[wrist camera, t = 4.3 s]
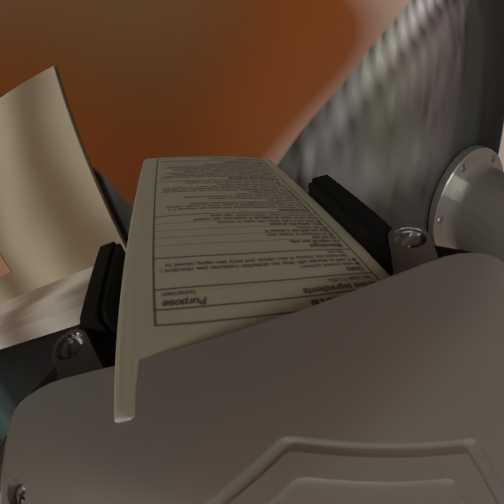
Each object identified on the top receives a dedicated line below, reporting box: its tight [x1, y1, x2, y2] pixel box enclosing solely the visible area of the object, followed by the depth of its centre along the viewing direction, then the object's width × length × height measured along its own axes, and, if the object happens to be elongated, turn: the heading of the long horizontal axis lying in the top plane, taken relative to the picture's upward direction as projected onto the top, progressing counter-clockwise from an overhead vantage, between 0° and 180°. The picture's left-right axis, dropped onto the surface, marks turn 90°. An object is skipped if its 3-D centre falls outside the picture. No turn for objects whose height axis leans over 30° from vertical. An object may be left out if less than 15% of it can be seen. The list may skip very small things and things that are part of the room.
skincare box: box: [114, 156, 390, 423], centre depth 10 cm, size 6×4×12 cm
